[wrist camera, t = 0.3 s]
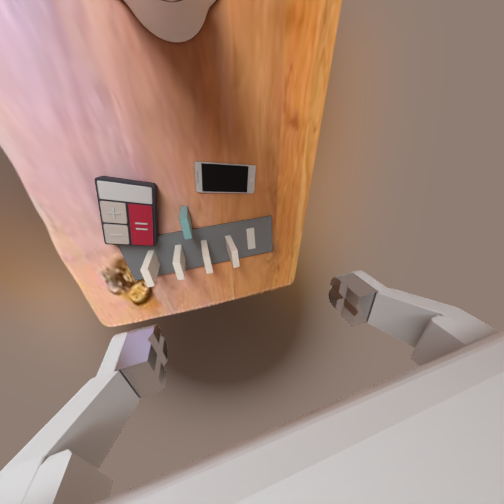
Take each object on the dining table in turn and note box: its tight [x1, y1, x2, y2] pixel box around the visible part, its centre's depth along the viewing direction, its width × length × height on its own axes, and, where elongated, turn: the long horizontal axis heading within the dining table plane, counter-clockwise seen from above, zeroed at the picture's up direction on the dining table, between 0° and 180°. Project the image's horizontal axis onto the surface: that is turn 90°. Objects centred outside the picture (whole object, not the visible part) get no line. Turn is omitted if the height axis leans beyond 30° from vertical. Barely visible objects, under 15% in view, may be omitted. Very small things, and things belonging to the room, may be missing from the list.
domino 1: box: [140, 249, 160, 287], centre depth 48 cm, size 2×5×10 cm, turn 5°
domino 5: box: [225, 235, 240, 268], centre depth 53 cm, size 2×5×10 cm, turn 5°
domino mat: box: [118, 216, 273, 281], centre depth 56 cm, size 12×42×1 cm, turn 95°
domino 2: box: [172, 244, 186, 280], centre depth 50 cm, size 2×5×10 cm, turn 5°
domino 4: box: [201, 240, 213, 274], centre depth 51 cm, size 2×5×10 cm, turn 4°
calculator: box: [95, 176, 158, 246], centre depth 45 cm, size 11×4×15 cm
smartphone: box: [195, 162, 256, 194], centre depth 49 cm, size 7×15×1 cm, turn 86°
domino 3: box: [179, 206, 192, 239], centre depth 47 cm, size 2×5×10 cm, turn 5°
